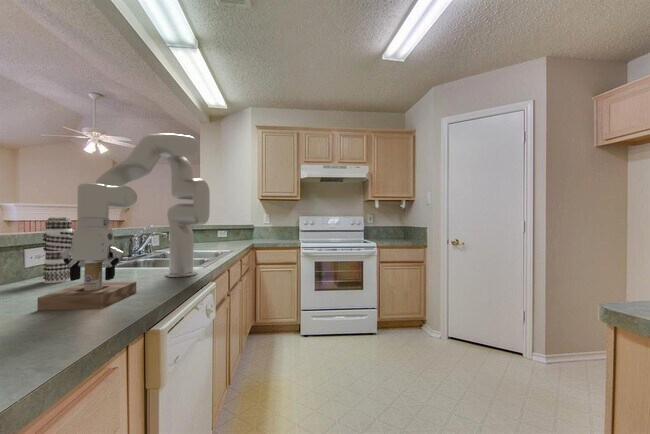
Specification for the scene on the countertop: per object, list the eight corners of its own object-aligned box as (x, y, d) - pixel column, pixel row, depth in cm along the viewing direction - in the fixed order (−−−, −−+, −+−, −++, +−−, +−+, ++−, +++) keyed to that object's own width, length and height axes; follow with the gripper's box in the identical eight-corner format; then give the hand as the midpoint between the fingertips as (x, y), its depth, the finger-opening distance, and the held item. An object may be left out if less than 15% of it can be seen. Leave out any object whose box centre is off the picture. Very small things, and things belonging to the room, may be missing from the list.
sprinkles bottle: (80, 302, 84) (80, 257, 85) (88, 298, 89) (88, 255, 89) (98, 301, 86) (99, 256, 86) (105, 297, 90) (105, 254, 90)
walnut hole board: (85, 292, 95) (85, 282, 95) (136, 291, 97) (136, 281, 97) (37, 310, 77) (37, 297, 77) (101, 308, 79) (101, 296, 79)
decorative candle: (74, 277, 119) (75, 217, 119) (73, 281, 112) (74, 217, 112) (43, 280, 113) (44, 217, 113) (40, 284, 106) (41, 217, 106)
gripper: (130, 223, 92) (129, 276, 92) (71, 223, 90) (71, 277, 90) (116, 224, 84) (115, 282, 84) (51, 223, 82) (51, 282, 82)
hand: (92, 279), depth 87 cm, fingers open, 9 cm apart
